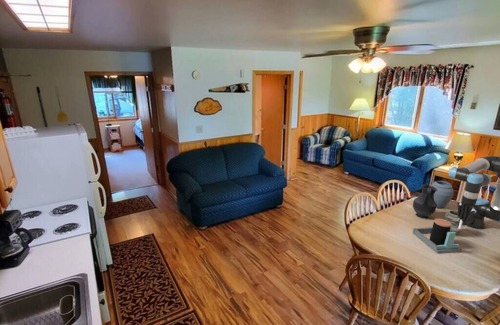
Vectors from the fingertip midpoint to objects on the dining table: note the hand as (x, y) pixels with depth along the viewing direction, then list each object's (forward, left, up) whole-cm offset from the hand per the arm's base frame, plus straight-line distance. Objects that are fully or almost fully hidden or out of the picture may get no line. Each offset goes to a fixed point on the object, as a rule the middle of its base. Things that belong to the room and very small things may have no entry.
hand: (460, 228), depth 182 cm
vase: (-45, -69, -22) cm, 85 cm away
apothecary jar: (-21, -27, -22) cm, 40 cm away
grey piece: (0, -17, -22) cm, 27 cm away
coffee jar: (0, -15, -22) cm, 26 cm away
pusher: (0, -6, -22) cm, 23 cm away
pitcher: (-16, -52, -22) cm, 58 cm away
